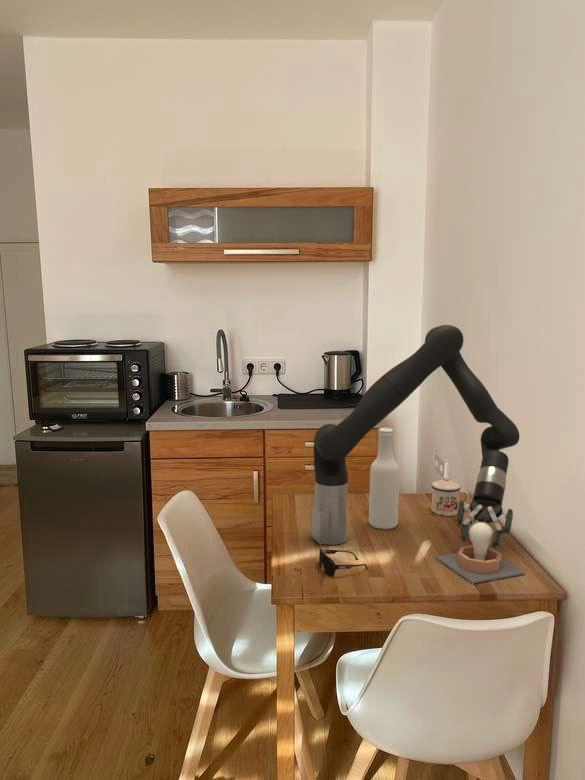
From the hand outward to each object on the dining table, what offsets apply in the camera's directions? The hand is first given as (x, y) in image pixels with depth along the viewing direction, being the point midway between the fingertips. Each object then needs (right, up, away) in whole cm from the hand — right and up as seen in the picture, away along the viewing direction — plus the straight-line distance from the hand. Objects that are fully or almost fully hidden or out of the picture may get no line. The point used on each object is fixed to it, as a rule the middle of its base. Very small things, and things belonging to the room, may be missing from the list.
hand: (479, 542), depth 164 cm
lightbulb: (+1, -6, +3) cm, 7 cm away
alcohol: (-20, -2, +32) cm, 38 cm away
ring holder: (+1, -7, +2) cm, 7 cm away
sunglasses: (-35, -7, +2) cm, 36 cm away
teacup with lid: (+3, 0, +44) cm, 44 cm away
